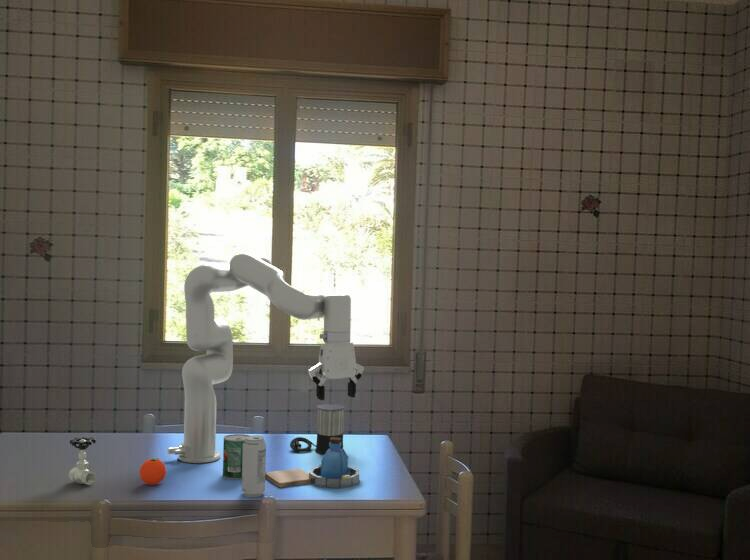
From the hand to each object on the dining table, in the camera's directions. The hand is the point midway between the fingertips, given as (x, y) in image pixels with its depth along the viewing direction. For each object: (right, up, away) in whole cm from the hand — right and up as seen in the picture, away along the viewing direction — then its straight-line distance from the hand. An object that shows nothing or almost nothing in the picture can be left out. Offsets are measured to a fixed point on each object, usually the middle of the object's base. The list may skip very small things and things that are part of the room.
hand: (336, 398), depth 211 cm
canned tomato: (-28, -23, +2) cm, 36 cm away
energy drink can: (-21, -23, -14) cm, 35 cm away
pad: (-13, -23, 0) cm, 26 cm away
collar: (-1, -23, 0) cm, 23 cm away
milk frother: (-8, -23, +32) cm, 40 cm away
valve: (-68, -22, -10) cm, 72 cm away
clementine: (-49, -22, -8) cm, 55 cm away
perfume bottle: (-1, -24, 0) cm, 24 cm away
